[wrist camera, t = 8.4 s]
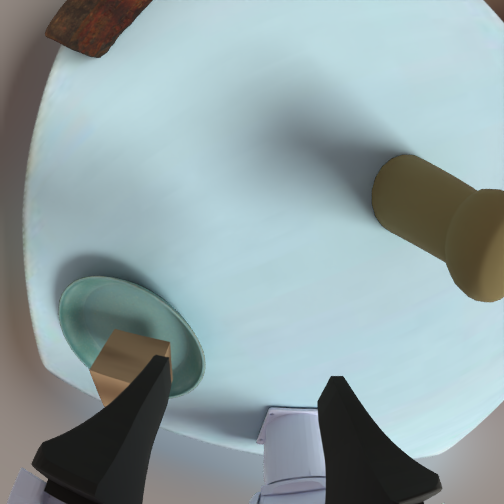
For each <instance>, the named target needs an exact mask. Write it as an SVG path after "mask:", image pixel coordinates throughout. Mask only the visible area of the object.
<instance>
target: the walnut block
mask: <svg viewBox="0 0 504 504" xmlns="http://www.w3.org/2000/svg"><path fill="white" fill-rule="evenodd" d="M154 355H160V356H165V357H169V363H170V374H171V384H172V381H173V377H172V363H171V346H170V342H168V341H164V340H159V339H154V338H150V337H146V336H141V335H137V334H133V333H129V332H125V331H121V330H118V329H114V331H113V332H112V334H111V335H110V337H109V338H108V340H107V342H106V343H105V345H104V346H103V348H102V350H101V351H100V353H99V355H98V356H97V358H96V360H95V361H94V363H93V365H92V366H91V368H90V370H89V371H90V373H91V376H92V379H93V381H94V384H95V386H96V389H97V391H98V393H99V396H100V398H101V400H102V403H103V405H104V407H106V406H107V405H108V404H109V403H111V402H112V401H113V400H114V399H115V398H116V397H117V396H118V395H119V394H120V393H121V392H122V391H124V390H125V389H126V388H127V387H128V385H129V384H130V383H131V382H132V381H133V380H134V379H135V378H136V377H137V376H138V375H139V373H140V372H141V371H142V370H143V369H144V368H145V366H146V365H147V364H148V363H149V361H150V360H151V359H152V358H153V356H154Z"/></svg>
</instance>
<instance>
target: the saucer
mask: <svg viewBox="0 0 504 504" xmlns="http://www.w3.org/2000/svg"><path fill="white" fill-rule="evenodd" d="M58 315H59V321H60V326H61V329H62V332H63V334H64V337H65V339H66V341H67V342H68V344H69V346H70V347H71V349H72V350H73V352H74V353H75V355H76V356H77V357H78V358H79V359H80V361H81V362H82V363H84V365H85V366H86V367H88V368H89V369H90V368H91V366H92V365H93V363H94V361H95V360H96V358H97V356H98V355H99V353H100V351H101V350H102V348H103V346H104V345H105V343H106V342H107V340H108V338H109V337H110V335H111V334H112V332H113V331H114V329H118V330H121V331H125V332H129V333H133V334H137V335H141V336H146V337H150V338H154V339H159V340H164V341H168V342H170V346H171V363H172V377H173V381H172V386H171V390H170V395H169V398H175V397H179V396H182V395H185V394H187V393H189V392H191V391H192V390H194V389H195V388H196V387H197V386H198V384H199V383H200V382H201V380H202V378H203V376H204V372H205V356H204V352H203V349H202V347H201V345H200V343H199V341H198V339H197V337H196V335H195V333H194V332H193V330H192V329H191V327H190V326H189V324H188V323H187V322H186V321H185V319H184V318H183V317H182V316H181V315H180V314H179V313H178V312H177V311H176V310H175V309H174V308H173V307H172V306H171V305H170V304H169V303H167V302H166V301H165V300H164V299H162V298H161V297H159V296H158V295H156V294H155V293H153V292H151V291H150V290H148V289H146V288H144V287H142V286H140V285H137V284H135V283H132V282H129V281H126V280H123V279H119V278H113V277H105V276H89V277H84V278H81V279H78V280H76V281H74V282H73V283H71V284H70V285H69V286H68V287H67V288H66V289H65V290H64V292H63V293H62V296H61V298H60V301H59V312H58Z"/></svg>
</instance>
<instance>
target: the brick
mask: <svg viewBox="0 0 504 504" xmlns="http://www.w3.org/2000/svg"><path fill="white" fill-rule="evenodd" d="M151 2H152V0H67V1H66V2H65V3H64V4H63V6H62V7H61V8H60V9H59V11H58V12H57V14H56V15H55V16H54V18H53V19H52V21H51V22H50V24H49V25H48V27H47V29H46V32H45V36H46V37H47V38H50V39H53V40H54V41H57V42H59V43H60V44H62V45H64V46H66V47H68V48H70V49H72V50H74V51H77V52H81V53H82V54H85V55H87V56H90V57H96V58H99V57H101V56H103V55H104V54H105V53H107V52H108V51H109V49H110V47H111V46H112V45H113V44H114V43H115V41H116V39H117V38H118V37H119V35H120V34H121V33H122V32H123V31H124V30H125V29H126V28H127V27H128V26H130V25H131V24H132V22H133V21H134V20H135V18H136V17H137V16H138V15H139V14H140V13H141V12H142V11H143V10H144V9H145V8H146V7H147V6H148V5H149V4H150V3H151Z"/></svg>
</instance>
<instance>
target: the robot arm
mask: <svg viewBox="0 0 504 504" xmlns="http://www.w3.org/2000/svg"><path fill="white" fill-rule="evenodd" d="M171 386H172V384H171V374H170V363H169V357H165V356H160V355H154V356H153V358H152V359H151V360H150V361H149V363H148V364H147V365H146V366H145V368H144V369H143V370H142V371H141V372H140V373H139V375H138V376H137V377H136V378H135V379H134V380H133V381H132V382H131V383H130V384H129V385H128V387H127V388H126V389H125V390H124V391H122V392H121V393H120V394H119V395H118V396H117V397H116V398H115V399H114V400H113V401H112V402H111V403H109V404H108V405H107V406H106V407H105V408H103V409H102V410H101V411H100V412H98V413H97V414H95V415H94V416H93V417H91V418H90V419H88V420H87V421H85V422H84V423H82V424H80V425H79V426H77V427H75V428H73V429H72V430H70V431H68V432H66V433H64V434H62V435H60V436H57V437H55V438H52V439H50V440H48V441H45V442H43V443H42V444H41V446H40V447H39V449H38V451H37V453H36V455H35V457H34V459H33V462H32V466H33V467H34V468H35V469H36V470H37V471H39V472H40V473H41V474H43V475H44V476H45V477H46V478H48V481H47V483H46V482H44V481H43V480H41V479H40V478H38V477H36V476H35V475H33V474H32V473H30V472H28V471H27V470H26V469H24V468H21V469H20V472H19V474H18V476H17V478H16V481H15V483H14V486H13V488H12V491H11V493H10V496H9V498H8V501H7V504H142V501H143V493H144V486H145V480H146V474H147V469H148V464H149V459H150V454H151V450H152V446H153V443H154V440H155V437H156V434H157V431H158V429H159V426H160V423H161V420H162V418H163V415H164V412H165V409H166V406H167V403H168V399H169V395H170V390H171ZM317 402H318V409H295V408H275V407H272V408H269V409H268V412H267V415H266V417H265V420H264V423H263V425H262V428H261V430H260V433H259V436H258V438H257V444H264V482H265V485H262V486H261V492H257V493H255V494H254V496H253V497H252V498H251V499H250V501H249V504H424V502H423V501H425V500H427V499H429V498H430V497H432V496H434V495H436V494H437V493H439V492H440V491H441V490H442V486H441V482H440V479H439V476H438V474H436V473H434V472H432V471H431V470H429V469H427V468H425V467H424V466H422V465H421V464H419V463H418V462H416V461H415V460H413V459H412V458H411V457H409V456H408V455H407V454H406V453H404V452H403V451H402V450H401V449H400V448H399V447H397V446H396V445H395V444H394V443H393V442H392V441H391V440H390V439H389V438H388V437H387V436H386V435H385V434H384V432H383V431H382V430H381V429H380V428H379V427H378V425H377V424H376V423H375V422H374V420H373V419H372V418H371V416H370V415H369V414H368V412H367V411H366V410H365V408H364V407H363V405H362V404H361V402H360V401H359V400H358V398H357V397H356V395H355V394H354V392H353V390H352V389H351V387H350V386H349V384H348V383H347V381H346V380H345V378H344V377H343V376H331V377H330V379H329V381H328V383H327V385H326V387H325V388H324V390H323V392H322V394H321V396H320V398H319V400H318V401H317ZM442 504H445V503H442Z"/></svg>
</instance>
